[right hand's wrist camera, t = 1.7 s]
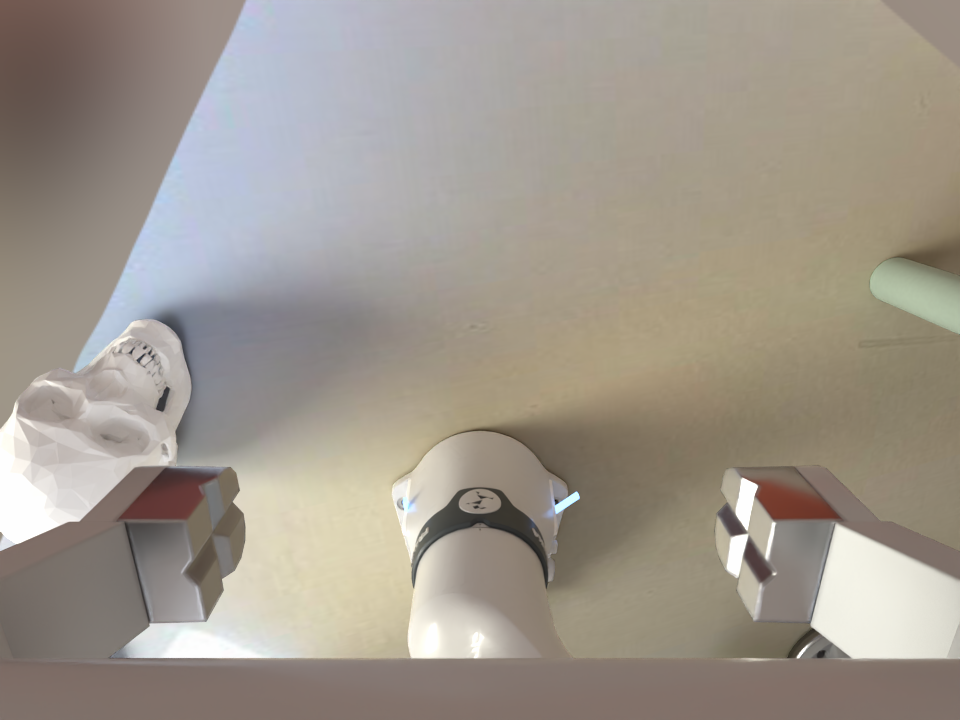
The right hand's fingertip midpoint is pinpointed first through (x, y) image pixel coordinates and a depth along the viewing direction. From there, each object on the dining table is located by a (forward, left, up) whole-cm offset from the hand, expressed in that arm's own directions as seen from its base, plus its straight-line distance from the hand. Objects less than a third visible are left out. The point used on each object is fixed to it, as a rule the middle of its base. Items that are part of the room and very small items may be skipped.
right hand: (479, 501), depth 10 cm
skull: (-21, +35, -48) cm, 63 cm away
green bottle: (-8, -39, -48) cm, 62 cm away
